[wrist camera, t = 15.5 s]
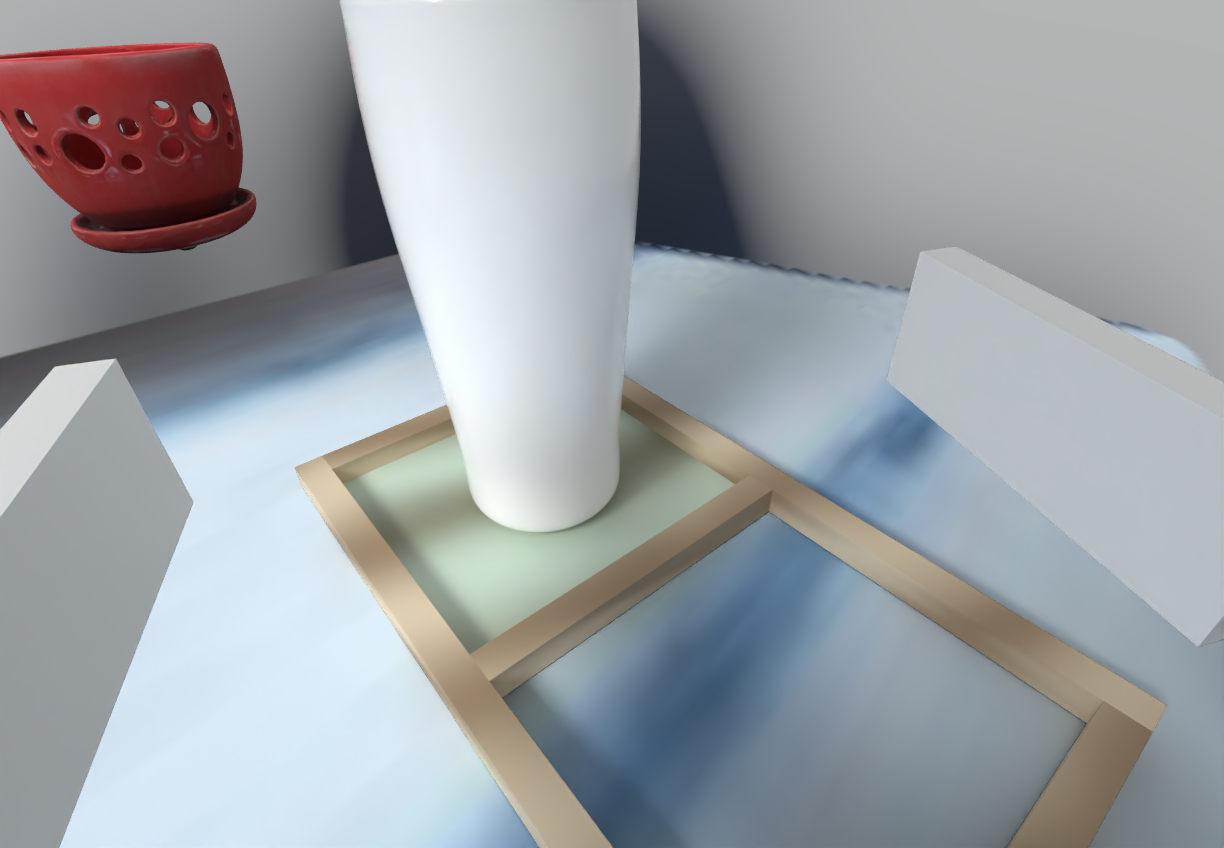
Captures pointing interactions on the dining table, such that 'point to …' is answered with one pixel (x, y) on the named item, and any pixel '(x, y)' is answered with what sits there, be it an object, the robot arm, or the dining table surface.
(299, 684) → the dining table surface
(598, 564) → the wooden window frame
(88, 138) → the plant pot
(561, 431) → the drinking glass
